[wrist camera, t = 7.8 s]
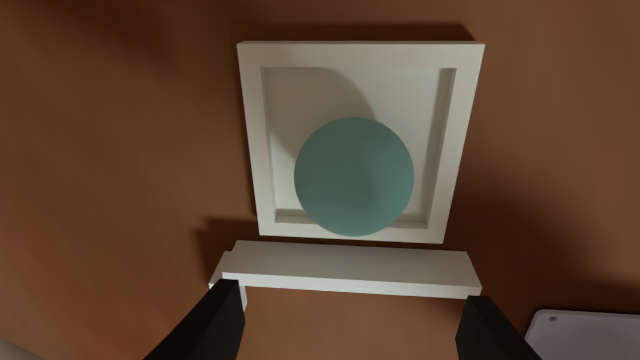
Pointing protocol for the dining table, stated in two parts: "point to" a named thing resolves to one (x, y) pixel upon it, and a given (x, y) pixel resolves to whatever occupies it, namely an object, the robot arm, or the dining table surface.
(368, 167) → the ball
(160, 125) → the dining table surface
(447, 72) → the white tray
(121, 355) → the dining table surface
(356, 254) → the wall
